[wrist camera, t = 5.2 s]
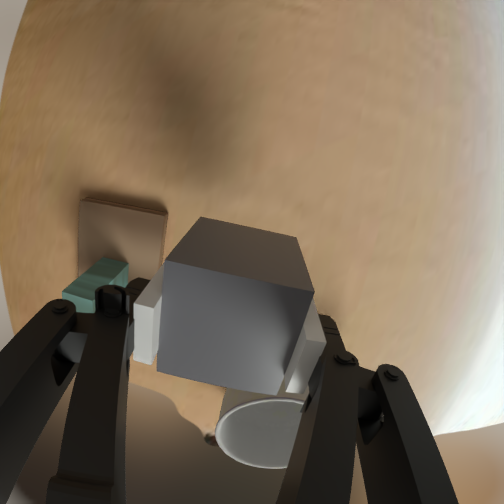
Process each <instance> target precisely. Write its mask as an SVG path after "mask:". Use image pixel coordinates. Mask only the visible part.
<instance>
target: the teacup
mask: <svg viewBox="0 0 504 504" xmlns="http://www.w3.org/2000/svg"><path fill="white" fill-rule="evenodd" d="M308 394H309V387H308V386H307V388H306V390H305V392H304V394H299V393H290V392H286V391H285V378H283V381H282V383H281V386H280V388H279V391H278V393H277V396H275V395H268V394H261V393H255V392H249V391H243V390H238V389H232V388H227V389H226V392H225V395H224V398H223V402H222V406H221V411H220V416H219V421H218V423H217V425H216V429H215V436H216V440H217V442H218V444H219V446H220V447H221V449H222V450H223V451H224V452H225V453H226V454H227V455H229V456H230V457H232V458H233V459H235V460H237V461H239V462H241V463H244V464H247V465H250V466H255V467H260V468H274V469H276V468H287V466H288V463H289V459H290V456H291V453H292V449H293V446H294V442H295V438H296V435H297V431H298V427H299V424H300V420H301V416H302V413H300V410H301V408H302V406H303V404H304V402H305V400H306V398H307V396H308Z"/></svg>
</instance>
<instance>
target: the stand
mask: <svg viewBox="0 0 504 504" xmlns="http://www.w3.org/2000/svg"><path fill="white" fill-rule="evenodd" d="M167 220H168V213H166V212H161V211H156V210H150V209H145V208H140V207H135V206H129V205H124V204H118V203H113V202H108V201H102V200H97V199H91V198H85V199H82V200H80V209H79V229H78V278H77V279H76V280H75V281H73V282H72V283H71V284H70V285H69V286H68V287H66V288H65V289H64V290H63V291H62V299H66V300H69V301H71V302H73V303H74V304H75V305H76V312H82V313H95V290H96V289H97V288H98V287H100V286H103V285H118V286H122V287H124V288H125V287H126V286H127V284H128V283H129V282H130V281H131V280H133V279H136V278H138V277H140V278H144V279H148V280H151V279H152V278H153V277H154V275H155V274H156V273H157V271H158V270H159V269H160V267H161V266H162V259H163V250H164V242H165V235H166V227H167Z"/></svg>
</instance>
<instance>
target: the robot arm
mask: <svg viewBox="0 0 504 504" xmlns="http://www.w3.org/2000/svg"><path fill="white" fill-rule="evenodd" d="M164 263H165V262H164ZM164 263H163V265H162V266H161V267H160V269H159V270H158V271H157V273H156V274H155V275H154V277H153V278H152V279H151V280H148V279H144V278H140V277H138V278H136V279H133V280H131V281H130V282H129V283H128V284H127V286H126V287H125V288H124V287H122V286H118V285H103V286H100V287H98V288H97V289H96V290H95V313H82V312H76V305H75V304H74V303H73V302H71V301H69V300H66V299H56V300H52V301H50V302H48V303H47V304H46V305H45V306H44V307H43V308H42V309H41V310H40V311H39V312H38V313H37V314H36V315H35V316H34V317H33V318H32V319H31V320H30V321H29V322H28V323H27V324H26V325H25V326H24V327H23V328H22V329H21V330H20V331H19V332H18V333H17V334H16V335H15V336H14V337H13V339H11V341H10V342H9V343H8V344H7V345H6V346H5V347H4V348H3V349H2V350H1V352H0V504H6V502H7V501H8V499H9V496H10V494H11V492H12V490H13V488H14V485H15V483H16V481H17V479H18V477H19V475H20V473H21V471H22V469H23V467H24V465H25V463H26V461H27V459H28V457H29V455H30V453H31V451H32V449H33V447H34V445H35V443H36V441H37V440H38V438H39V436H40V434H41V432H42V430H43V429H44V427H45V425H46V423H47V421H48V420H49V418H50V416H51V414H52V413H53V411H54V409H55V407H56V406H57V404H58V402H59V400H60V399H61V397H62V395H63V394H64V392H65V390H66V389H67V387H68V385H69V384H70V382H71V380H72V379H73V377H74V376H75V374H76V372H77V375H76V378H75V382H74V386H73V391H72V395H71V399H70V404H69V408H68V414H67V418H66V423H65V428H64V434H63V440H62V445H61V452H60V458H59V466H58V471H57V474H56V475H55V476H52V477H51V479H50V480H49V483H48V488H47V496H46V504H126V487H125V486H126V484H125V435H126V411H127V394H128V380H129V369H130V356H131V354H132V352H133V355H134V360H135V361H138V362H142V363H145V364H149V365H152V362H153V360H154V358H155V356H156V354H157V351H158V345H159V328H160V314H161V302H162V294H161V293H162V282H163V272H164ZM284 378H285V391H286V392H290V393H299V394H304V392H305V390H306V388H307V386H308V387H309V394H308V396H307V398H306V400H305V402H304V404H303V406H302V408H301V410H300V413H302V416H301V420H300V424H299V427H298V431H297V435H296V438H295V442H294V446H293V449H292V453H291V456H290V459H289V463H288V466H287V469H286V473H285V476H284V479H283V482H282V485H281V489H280V492H279V495H278V498H277V501H276V504H349V501H350V493H351V486H352V477H353V468H354V458H355V446H356V444H357V449H358V453H359V458H360V463H361V468H362V473H363V478H364V484H365V489H366V495H367V500H368V504H459V503H458V500H457V498H456V495H455V492H454V489H453V486H452V484H451V481H450V478H449V475H448V473H447V470H446V467H445V465H444V462H443V460H442V457H441V455H440V452H439V450H438V447H437V445H436V442H435V440H434V438H433V435H432V433H431V430H430V428H429V426H428V423H427V421H426V419H425V417H424V414H423V412H422V410H421V408H420V405H419V403H418V401H417V399H416V397H415V395H414V392H413V390H412V388H411V386H410V384H409V382H408V380H407V378H406V376H405V374H404V373H403V371H401V370H400V369H399V368H398V367H395V366H393V365H389V364H382V365H380V366H379V367H378V369H377V370H376V372H375V371H371V370H368V369H365V368H363V367H360V366H359V363H358V359H357V358H356V357H355V356H354V355H353V354H351V353H350V352H348V351H346V349H345V347H344V344H343V341H342V339H341V336H340V333H339V330H338V328H337V325H336V323H335V321H334V320H333V319H332V318H331V317H330V316H326V315H320V314H318V313H317V309H316V306H315V303H314V300H313V298H312V301H311V304H310V307H309V310H308V313H307V316H306V319H305V322H304V324H303V327H302V330H301V333H300V335H299V338H298V341H297V344H296V346H295V349H294V352H293V354H292V357H291V360H290V362H289V365H288V368H287V370H286V373H285V375H284ZM383 415H384V416H383Z"/></svg>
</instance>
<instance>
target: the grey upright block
mask: <svg viewBox="0 0 504 504" xmlns="http://www.w3.org/2000/svg"><path fill="white" fill-rule="evenodd" d="M314 292H315V291H314V288H313V285H312V282H311V279H310V276H309V273H308V270H307V267H306V264H305V261H304V258H303V255H302V252H301V249H300V246H299V244H298V241H297V238H296V237H292V236H288V235H283V234H279V233H274V232H270V231H265V230H261V229H256V228H252V227H247V226H242V225H238V224H233V223H228V222H224V221H219V220H214V219H209V218H205V217H200V218H199V219H198V220H197V221H196V223H195V224H194V225H193V226H192V227H191V229H190V230H189V231H188V232H187V233H186V235H185V236H184V237H183V238H182V239H181V241H180V242H179V243H178V244H177V245H176V247H175V248H174V249H173V250H172V252H171V253H170V254H169V255H168V257H167V258H166V259H165V263H164V272H163V282H162V293H161V294H162V302H161V314H160V328H159V345H158V351H157V371H158V372H162V373H166V374H170V375H173V376H177V377H181V378H186V379H190V380H194V381H198V382H203V383H207V384H212V385H217V386H222V387H227V388H232V389H238V390H243V391H249V392H255V393H261V394H268V395H275V396H277V393H278V391H279V388H280V386H281V383H282V381H283V378H284V375H285V373H286V370H287V368H288V365H289V362H290V360H291V357H292V354H293V352H294V349H295V346H296V344H297V341H298V338H299V335H300V333H301V330H302V327H303V324H304V322H305V319H306V316H307V313H308V310H309V307H310V304H311V301H312V298H313V295H314Z"/></svg>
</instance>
